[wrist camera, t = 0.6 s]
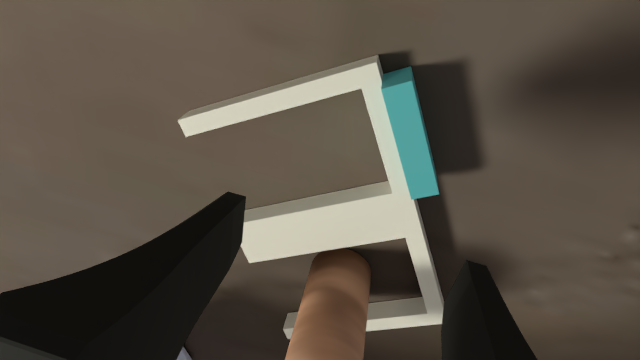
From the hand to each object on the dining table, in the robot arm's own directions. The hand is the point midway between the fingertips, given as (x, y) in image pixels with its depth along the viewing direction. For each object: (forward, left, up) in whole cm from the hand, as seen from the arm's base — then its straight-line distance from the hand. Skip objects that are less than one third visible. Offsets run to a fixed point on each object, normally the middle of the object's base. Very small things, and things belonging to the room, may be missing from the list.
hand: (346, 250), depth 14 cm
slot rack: (-3, -5, -11) cm, 12 cm away
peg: (-5, -10, -11) cm, 15 cm away
